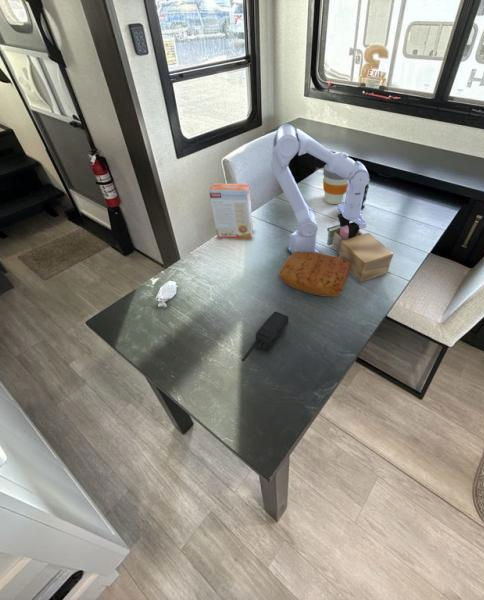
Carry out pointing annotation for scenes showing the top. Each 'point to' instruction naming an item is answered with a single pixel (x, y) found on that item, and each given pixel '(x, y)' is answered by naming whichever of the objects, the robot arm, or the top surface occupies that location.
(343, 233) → the block
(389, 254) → the cabinet
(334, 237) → the drawer
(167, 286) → the bird figurine
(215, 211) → the cracker box
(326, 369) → the top surface
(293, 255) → the cuneiform tablet
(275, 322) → the walkie-talkie
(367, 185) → the beverage can
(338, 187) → the reusable coffee cup
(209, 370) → the top surface
